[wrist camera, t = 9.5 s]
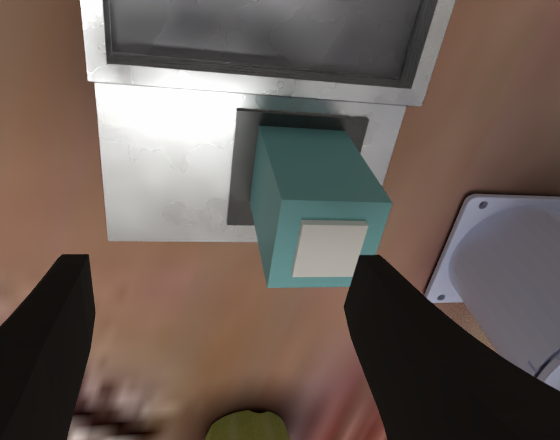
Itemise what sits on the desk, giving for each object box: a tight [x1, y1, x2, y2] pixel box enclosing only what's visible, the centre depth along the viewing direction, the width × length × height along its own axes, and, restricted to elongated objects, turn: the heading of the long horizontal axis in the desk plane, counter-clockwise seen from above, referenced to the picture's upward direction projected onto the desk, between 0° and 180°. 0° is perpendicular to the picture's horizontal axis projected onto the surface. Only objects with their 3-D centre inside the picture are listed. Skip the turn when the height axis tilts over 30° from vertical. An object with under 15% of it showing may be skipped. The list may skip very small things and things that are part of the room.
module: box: [250, 126, 392, 288], centre depth 19 cm, size 4×4×6 cm
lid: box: [93, 81, 409, 242], centre depth 22 cm, size 13×8×1 cm, turn 82°
